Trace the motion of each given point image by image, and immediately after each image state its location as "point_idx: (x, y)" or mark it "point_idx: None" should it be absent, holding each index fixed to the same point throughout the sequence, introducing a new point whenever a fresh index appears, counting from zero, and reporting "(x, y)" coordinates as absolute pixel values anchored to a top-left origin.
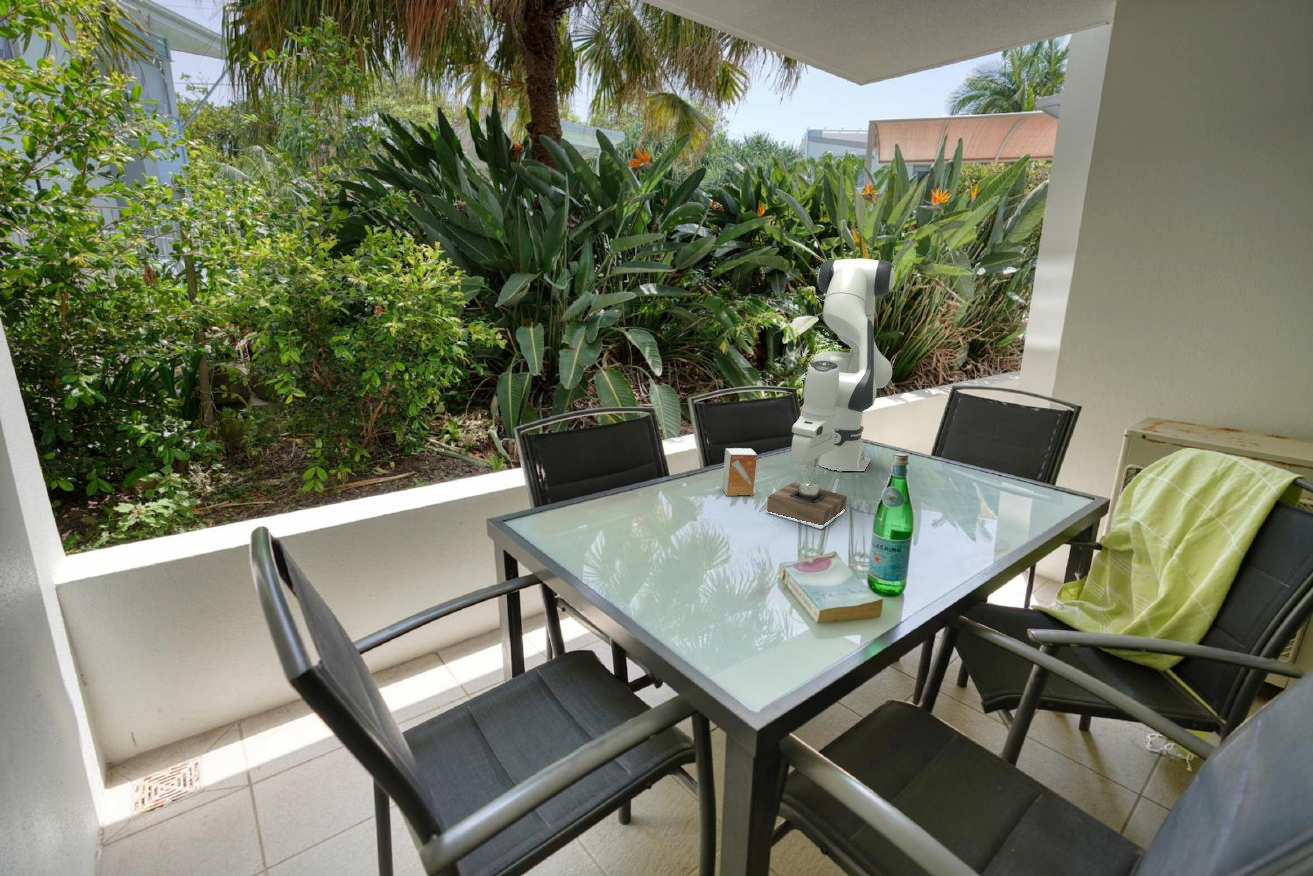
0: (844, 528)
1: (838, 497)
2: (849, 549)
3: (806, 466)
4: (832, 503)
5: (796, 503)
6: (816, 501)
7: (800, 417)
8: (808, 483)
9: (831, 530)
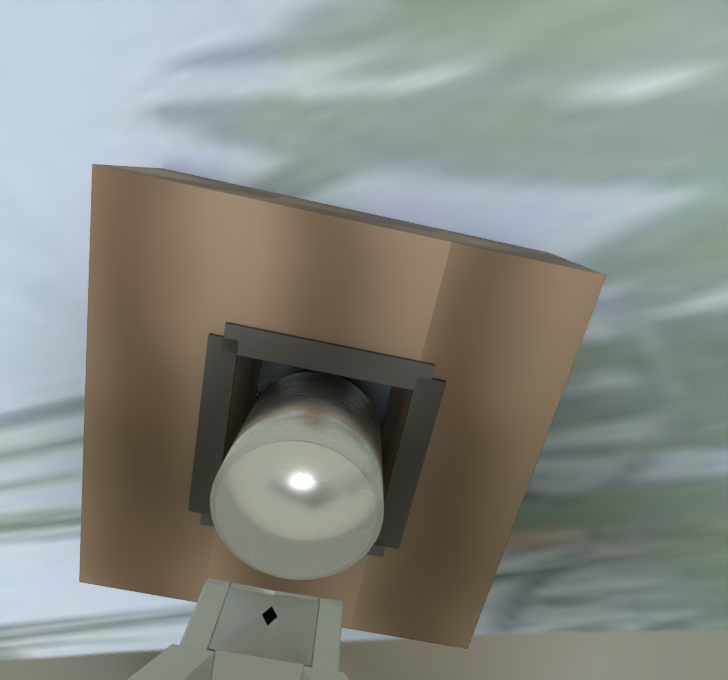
0: None
1: (406, 612)
2: (18, 627)
3: (172, 647)
4: None
5: (101, 407)
6: None
7: None
8: (296, 503)
9: None
